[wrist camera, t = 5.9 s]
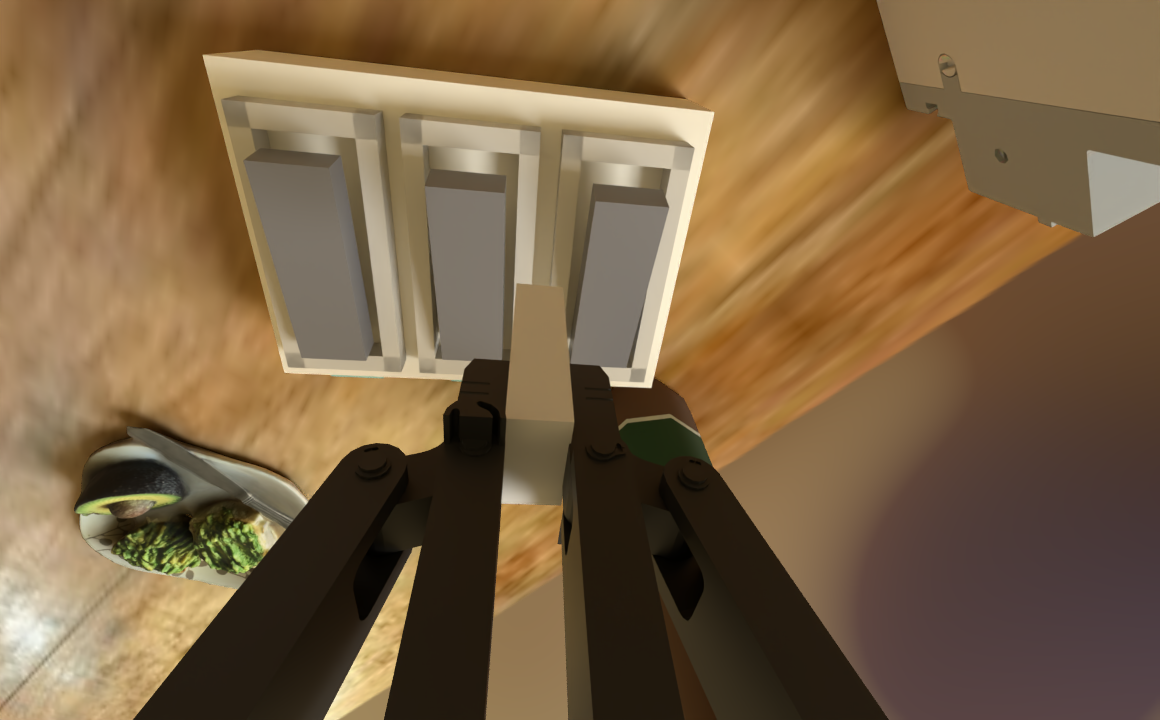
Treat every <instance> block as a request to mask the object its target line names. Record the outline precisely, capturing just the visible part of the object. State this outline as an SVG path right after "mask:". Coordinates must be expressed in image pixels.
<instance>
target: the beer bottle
mask: <svg viewBox="0 0 1160 720" xmlns="http://www.w3.org/2000/svg"><path fill="white" fill-rule="evenodd" d="M611 391H612V396H613V402H614V407H615V412H616V417H617V423H618V428H619V433H620V438H621V439H622V440H623V441H624V442H625V443H626V444H627V446H628V448H629V450H630V452H631V453H632V454H634V455H635V456H637V457H639V458H640V459H643V460H646V461H648V462H652V463H655V464H658V465H662V466H665V465H666V464H667V463H668V462H669V461H670V459H672V458H675V457H678V456H691V457H695V458H698V459H702V460H703V461H705V462H707V463H708V464H710V465H712V463H711V461H710V459H709V456H708V454H707V451H706V449H705V446H704V444H703V441H702V439H701V436H700V434H699V432H698V429H697V427H696V424H695V422H694V419H693V417H692V414H691V412H690V410H689V408H688V406H687V404H686V402H685V400H684V398H682V397H681V396H679V395H678V394H677V393H675V392H674V391H672V390H671V389H669V388H668V387H666V386H665V385H664V384H662V383H661V382H659V381H658V380H656V379H653V383H652V387H651V388H639V387H614V388H613V389H612V390H611ZM712 467H713V466H712ZM659 595H660V593H659ZM660 600H661V605H662V610H663V615H664V620H665V625H666V630H667V635H668V640H669V645H670V649H671V654H672V659H673V664H674V669H675V674H676V679H677V684H678V689H679V694H680V699H681V704H682V709H683V713H684V718H685V720H717V718H716V716H715V714H714V712H713V709H712V707H711V705H710V703H709V701H708V698H707V696H706V694H705V692H704V690H703V687H702V685H701V683H700V681H699V679H698V676H697V674H696V672H695V670H694V668H693V665H692V663H691V661H690V659H689V657H688V654H687V652H686V650H685V648H684V646H683V643H682V641H681V639H680V637H679V635H678V632H677V630H676V628H675V626H674V624H673V621H672V619H671V617H670V615H669V613H668V610H667V608H666V606H665V604H664V601H663V599H662V597H661V595H660Z"/></svg>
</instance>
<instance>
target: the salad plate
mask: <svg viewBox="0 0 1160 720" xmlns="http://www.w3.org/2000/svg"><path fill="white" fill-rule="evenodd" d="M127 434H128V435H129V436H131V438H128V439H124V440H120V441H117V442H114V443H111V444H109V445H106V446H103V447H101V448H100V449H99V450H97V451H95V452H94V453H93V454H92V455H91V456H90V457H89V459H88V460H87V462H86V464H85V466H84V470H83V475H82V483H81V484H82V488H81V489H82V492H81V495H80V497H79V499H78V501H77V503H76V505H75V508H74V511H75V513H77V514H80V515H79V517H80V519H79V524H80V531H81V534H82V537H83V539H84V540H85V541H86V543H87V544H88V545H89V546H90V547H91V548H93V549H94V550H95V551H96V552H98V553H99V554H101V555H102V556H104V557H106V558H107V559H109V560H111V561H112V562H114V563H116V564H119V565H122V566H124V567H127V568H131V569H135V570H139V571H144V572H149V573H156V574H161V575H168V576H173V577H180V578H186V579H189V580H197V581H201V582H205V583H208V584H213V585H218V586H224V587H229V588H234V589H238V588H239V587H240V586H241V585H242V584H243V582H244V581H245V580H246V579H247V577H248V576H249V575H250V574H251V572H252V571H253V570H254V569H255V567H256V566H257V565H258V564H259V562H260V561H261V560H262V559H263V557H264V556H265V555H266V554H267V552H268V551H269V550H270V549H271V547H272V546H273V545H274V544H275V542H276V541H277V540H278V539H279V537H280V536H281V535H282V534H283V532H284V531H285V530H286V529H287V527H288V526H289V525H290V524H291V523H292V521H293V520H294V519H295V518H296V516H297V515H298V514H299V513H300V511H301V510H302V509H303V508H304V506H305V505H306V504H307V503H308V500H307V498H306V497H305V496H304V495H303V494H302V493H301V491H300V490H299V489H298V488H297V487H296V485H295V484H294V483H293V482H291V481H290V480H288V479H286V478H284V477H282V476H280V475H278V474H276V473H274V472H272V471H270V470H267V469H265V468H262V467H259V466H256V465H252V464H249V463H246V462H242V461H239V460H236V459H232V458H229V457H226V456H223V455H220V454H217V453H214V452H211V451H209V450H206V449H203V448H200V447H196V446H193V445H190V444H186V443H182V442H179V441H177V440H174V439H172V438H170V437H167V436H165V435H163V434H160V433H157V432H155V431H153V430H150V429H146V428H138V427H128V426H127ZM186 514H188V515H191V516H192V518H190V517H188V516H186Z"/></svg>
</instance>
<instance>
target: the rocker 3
mask: <svg viewBox="0 0 1160 720" xmlns="http://www.w3.org/2000/svg"><path fill="white" fill-rule="evenodd" d="M668 211H669V205H668V202H667V199H666V197H665V194H664V191H663V190H660V189H649V188H638V187H627V186H616V185H605V184H594V183H593V187H592V193H591V200H590V207H589V214H588V221H587V228H586V234H585V241H584V248H583V255H582V262H581V269H580V275H579V282H578V289H577V296H576V303H575V309H574V316H573V323H572V330H571V337H570V344H569V352H570V364H583V365H598V366H600V367H612V368H626V367H627V363H628V360H629V356H630V352H631V348H632V345H633V341H634V337H635V333H636V330H637V326H638V322H639V319H640V315H641V311H642V307H643V304H644V300H645V296H646V293H647V289H648V285H649V281H650V278H651V274H652V270H653V267H654V263H655V259H656V255H657V252H658V248H659V244H660V241H661V237H662V233H663V229H664V226H665V222H666V218H667V214H668Z"/></svg>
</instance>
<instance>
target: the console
mask: <svg viewBox="0 0 1160 720" xmlns="http://www.w3.org/2000/svg"><path fill="white" fill-rule="evenodd" d="M203 59H204V63H205V67H206V70H207V74H208V78H209V82H210V86H211V90H212V94H213V98H214V101H215V105H216V109H217V113H218V117H219V121H220V125H221V128H222V132H223V136H224V140H225V144H226V148H227V152H228V156H229V159H230V163H231V167H232V171H233V175H234V179H235V183H236V187H237V190H238V194H239V198H240V202H241V206H242V210H243V214H244V218H245V221H246V225H247V229H248V233H249V237H250V241H251V245H252V249H253V252H254V256H255V260H256V264H257V268H258V272H259V276H260V280H261V283H262V287H263V291H264V295H265V299H266V303H267V307H268V311H269V314H270V318H271V322H272V326H273V330H274V334H275V338H276V342H277V345H278V349H279V353H280V357H281V361H282V365H283V369H284V372H285V373H300V374H324V375H331V376H338V377H363V378H384V377H397V378H421V379H445V380H451V381H460V382H462V378H463V373H464V369H465V368H466V367H467V365H468V364H469V363H470V362H471V361H460V360H442V352H441V342H440V332H439V322H438V313H437V303H436V293H435V283H434V274H433V264H432V254H431V244H430V235H429V225H428V215H427V205H426V195H425V184H426V181H427V178H428V175H429V172H430V169H441V170H451V171H462V172H473V173H484V174H495V175H506V227H505V280H504V334H503V353H502V360H506V361H510V353H511V342H512V330H513V318H514V307H515V295H516V283H519V284H531V285H542V286H554V287H563V294H564V306H565V318H566V329H567V341H568V353H569V364H570V352H569V344H570V337H571V330H572V323H573V316H574V309H575V303H576V296H577V289H578V282H579V275H580V269H581V262H582V255H583V248H584V241H585V234H586V228H587V221H588V214H589V207H590V200H591V193H592V187H593V183H594V184H605V185H616V186H627V187H638V188H649V189H660V190H663V191H664V194H665V197H666V199H667V202H668V205H669V211H668V214H667V218H666V222H665V226H664V229H663V233H662V237H661V241H660V244H659V248H658V252H657V255H656V259H655V263H654V267H653V270H652V274H651V278H650V281H649V285H648V289H647V293H646V296H645V300H644V304H643V307H642V311H641V315H640V319H639V322H638V326H637V330H636V333H635V337H634V341H633V345H632V348H631V352H630V356H629V360H628V363H627V367H626V368H612V367H601V368H602V369H603V370H604V372H605V373H606V374H607V375H608V377H609V381H610V386H615V387H639V388H651V387H652V383H653V378H654V374H655V370H656V365H657V361H658V357H659V352H660V348H661V343H662V339H663V335H664V330H665V326H666V322H667V317H668V313H669V309H670V304H671V300H672V295H673V291H674V287H675V282H676V278H677V274H678V269H679V265H680V261H681V256H682V252H683V247H684V243H685V239H686V234H687V230H688V226H689V221H690V217H691V213H692V208H693V204H694V199H695V195H696V191H697V186H698V182H699V178H700V173H701V169H702V164H703V160H704V156H705V151H706V147H707V143H708V138H709V134H710V130H711V125H712V121H713V116H714V112H713V111H711V110H709V109H707V108H705V107H703V106H701V105H699V104H696V103H694V102H692V101H690V100H688V99H682V98H673V97H665V96H656V95H647V94H638V93H630V92H621V91H612V90H604V89H595V88H586V87H577V86H569V85H560V84H551V83H543V82H534V81H525V80H516V79H508V78H499V77H490V76H482V75H473V74H464V73H456V72H447V71H438V70H429V69H421V68H412V67H403V66H395V65H386V64H377V63H368V62H360V61H351V60H342V59H334V58H325V57H316V56H307V55H299V54H290V53H281V52H273V51H264V50H250V51H238V52H227V53H216V54H204V55H203ZM260 148H267V149H277V150H288V151H299V152H310V153H321V154H332V155H341V159H342V165H343V170H344V176H345V182H346V187H347V193H348V199H349V204H350V210H351V216H352V221H353V227H354V233H355V238H356V244H357V249H358V255H359V261H360V266H361V272H362V278H363V283H364V289H365V295H366V300H367V306H368V312H369V317H370V323H371V329H372V334H373V340H374V344H373V346H372V348H371V351H370V353H369V356H368V358H367V361H355V360H332V359H310V358H301V354H300V351H299V348H298V344H297V341H296V337H295V334H294V331H293V327H292V324H291V321H290V317H289V314H288V310H287V307H286V304H285V300H284V297H283V294H282V290H281V287H280V283H279V280H278V277H277V273H276V270H275V266H274V263H273V260H272V256H271V253H270V250H269V246H268V243H267V239H266V236H265V233H264V229H263V226H262V223H261V219H260V216H259V212H258V209H257V206H256V202H255V199H254V196H253V192H252V189H251V185H250V182H249V179H248V175H247V172H246V168H245V165H244V162H243V160H244V159H246V158H247V157H248V156H250V155H251V154H253V153H254V152H255V151H257V150H258V149H260Z"/></svg>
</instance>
